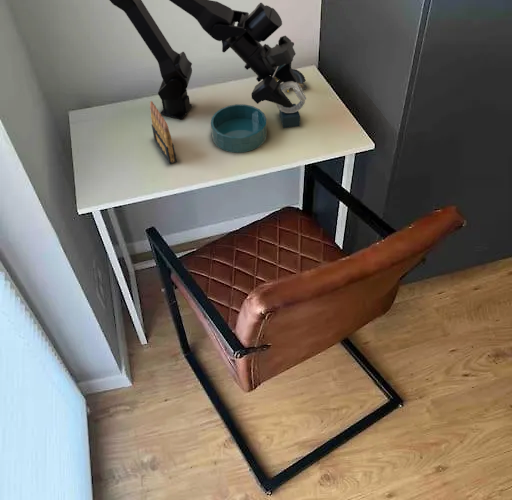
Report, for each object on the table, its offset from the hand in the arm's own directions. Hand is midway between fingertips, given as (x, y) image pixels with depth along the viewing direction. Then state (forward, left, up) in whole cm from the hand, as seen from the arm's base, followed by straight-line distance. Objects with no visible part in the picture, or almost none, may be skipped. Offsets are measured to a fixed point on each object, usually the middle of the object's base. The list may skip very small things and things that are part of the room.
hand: (295, 98), depth 145 cm
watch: (-1, 0, -7) cm, 7 cm away
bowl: (-11, -10, -7) cm, 17 cm away
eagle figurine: (-6, +14, -7) cm, 17 cm away
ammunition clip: (-26, -22, -7) cm, 35 cm away
